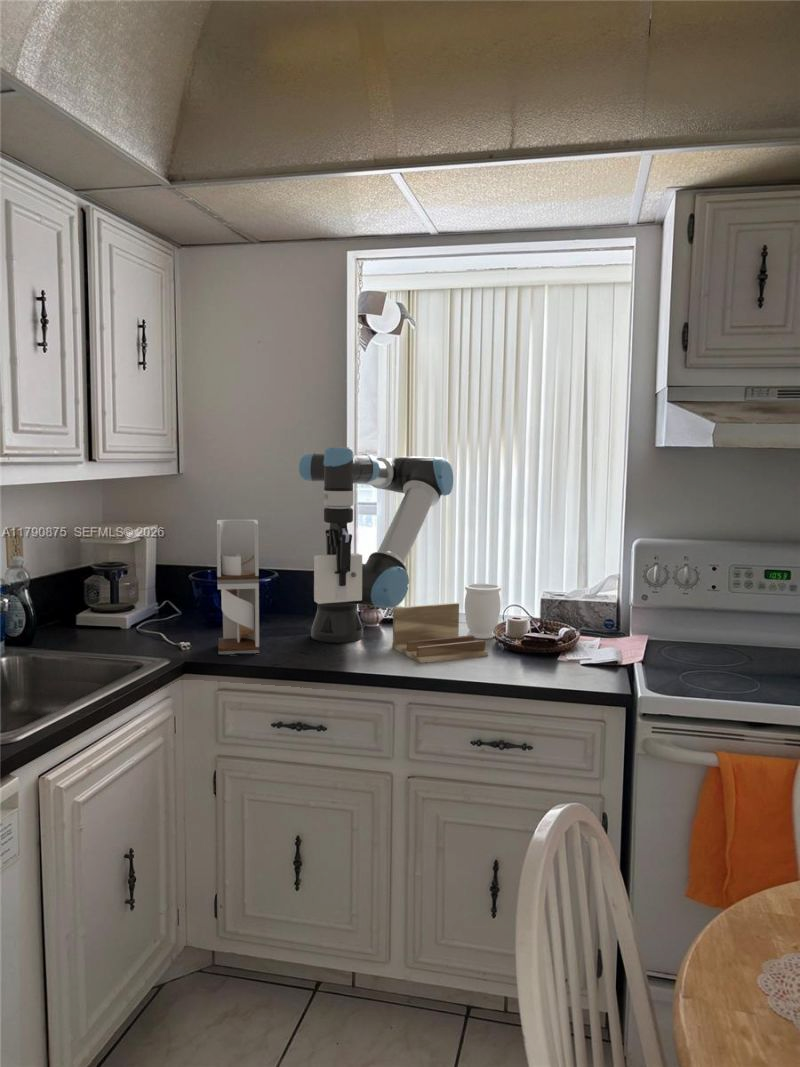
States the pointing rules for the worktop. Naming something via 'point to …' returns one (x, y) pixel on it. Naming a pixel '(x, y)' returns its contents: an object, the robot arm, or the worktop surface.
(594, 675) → the worktop surface
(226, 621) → the spiral ramp tower
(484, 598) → the jar
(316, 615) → the robot arm
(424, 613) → the track base
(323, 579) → the door panel
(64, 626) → the worktop surface
